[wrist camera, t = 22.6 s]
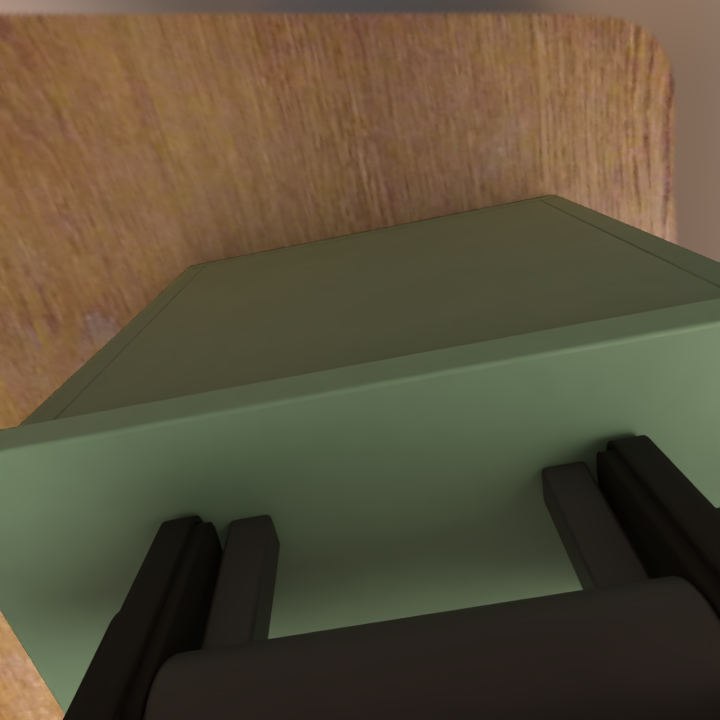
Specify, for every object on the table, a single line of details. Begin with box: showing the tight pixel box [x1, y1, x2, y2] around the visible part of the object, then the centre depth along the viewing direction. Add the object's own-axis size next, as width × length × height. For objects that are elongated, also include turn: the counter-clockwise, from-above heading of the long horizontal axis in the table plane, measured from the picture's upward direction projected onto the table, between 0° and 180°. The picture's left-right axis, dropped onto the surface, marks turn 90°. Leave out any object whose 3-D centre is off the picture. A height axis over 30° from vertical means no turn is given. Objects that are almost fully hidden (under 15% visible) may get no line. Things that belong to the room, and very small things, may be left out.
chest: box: [19, 195, 720, 426], centre depth 21 cm, size 16×15×14 cm
